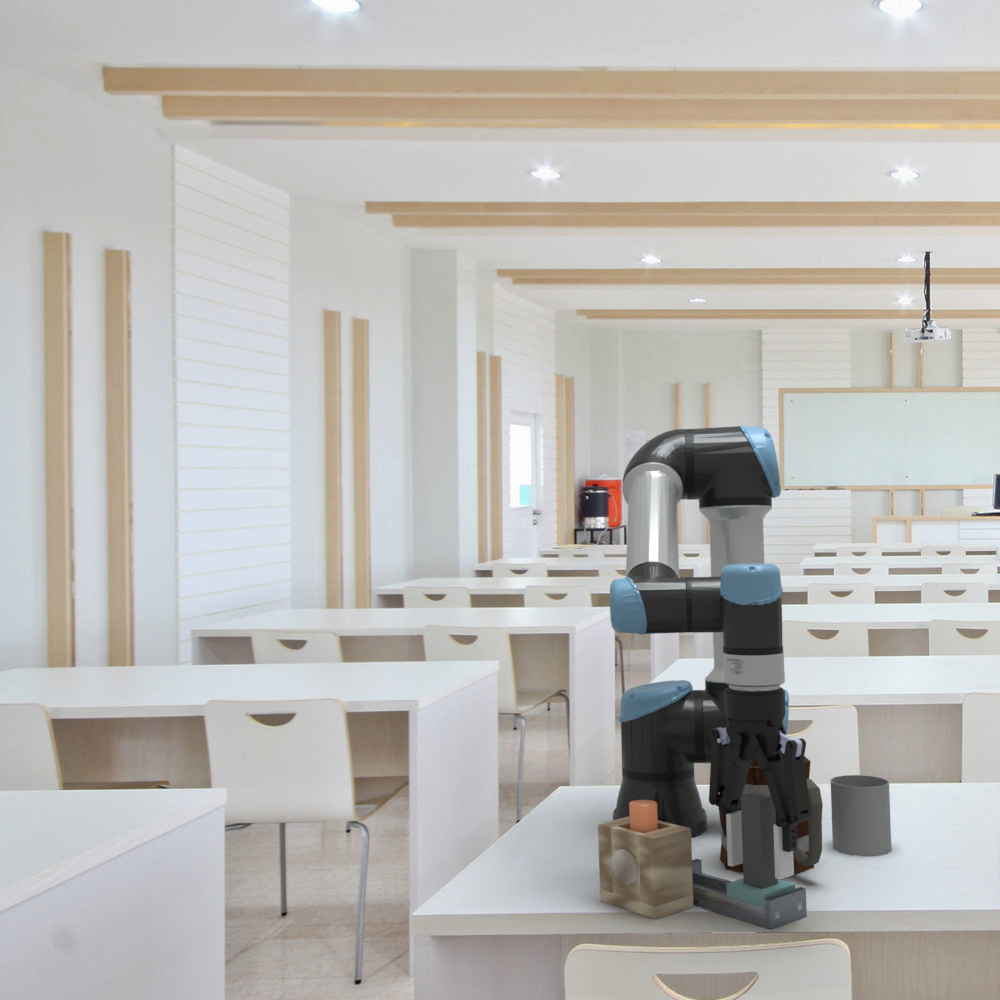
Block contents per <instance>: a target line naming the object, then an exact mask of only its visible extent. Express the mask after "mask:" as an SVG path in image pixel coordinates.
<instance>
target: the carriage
mask: <svg viewBox="0 0 1000 1000" xmlns="http://www.w3.org/2000/svg"><path fill="white" fill-rule="evenodd" d="M741 820H742V850H743V873H742V874H743V878H740V879H739V878H738V879H736V880H733V881H732V882H729V883H726V884H727V896H728V897H731V898H735V899H738V900H741V901H745V902H748V903H751V904H755V905H758V906H761V907H765V899H767V898H770V897H773V896H776V895H779V894H782V893H784V892H787V891H790V890H793V889H796V888H797V887H796V883H793V882H789V881H787V880H782V879H776V878H775V858H774V829H773V825H774V824H775V823H776V811H775V807H774V804H773V801H772V798H771V795H770V794H765V793H760V792H753V793H749V794H745V795H741Z"/></svg>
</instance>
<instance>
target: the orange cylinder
mask: <svg viewBox="0 0 1000 1000" xmlns="http://www.w3.org/2000/svg"><path fill="white" fill-rule="evenodd" d="M629 810H630V830H633V831H637V832H641V833H647V832H651V831H655V830H658V815H657V802H655V801H652V800H635V801H631V802H630V803H629Z"/></svg>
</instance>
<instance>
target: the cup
mask: <svg viewBox="0 0 1000 1000" xmlns="http://www.w3.org/2000/svg"><path fill="white" fill-rule="evenodd" d="M830 801H831V828H832V830H831V831H832V835H831V836H832V848H833V850H834V851H837V852H838V853H839V854H845V855H850V856H855V855H857V856H858V857H878V856H883V855H888V854H889V853H891V852H892V831H891V829H892V828H891V826H892V825H891V798H890V782H889V781H888V779H885V778H883V777H878V776H872V775H861V774H854V775H853V774H852V775H851V774H850V775H839V776H835V777H833V778H831V779H830ZM857 856H856V857H857Z"/></svg>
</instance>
